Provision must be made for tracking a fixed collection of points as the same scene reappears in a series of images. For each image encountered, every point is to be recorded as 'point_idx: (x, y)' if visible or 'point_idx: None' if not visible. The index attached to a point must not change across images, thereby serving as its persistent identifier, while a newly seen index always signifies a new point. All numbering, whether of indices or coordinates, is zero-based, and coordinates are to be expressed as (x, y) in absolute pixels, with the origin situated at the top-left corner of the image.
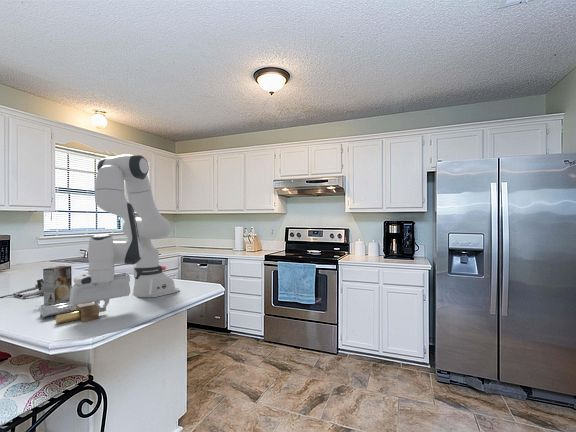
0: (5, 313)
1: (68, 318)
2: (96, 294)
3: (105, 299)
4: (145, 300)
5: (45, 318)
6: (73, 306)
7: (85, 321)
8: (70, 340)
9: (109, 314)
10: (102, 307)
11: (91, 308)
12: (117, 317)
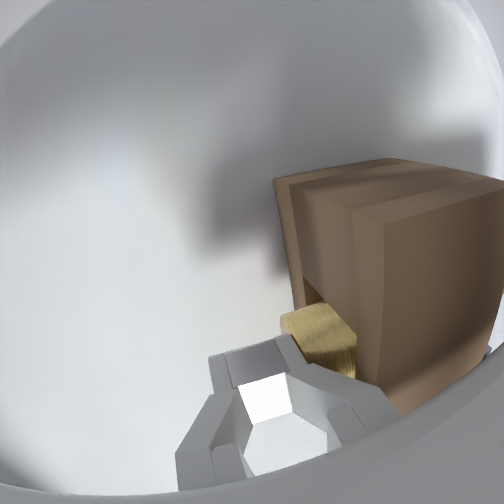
0: None
1: None
2: (492, 501)
3: (251, 480)
4: (36, 487)
5: (485, 351)
6: None
7: (399, 164)
8: None
9: (176, 392)
10: (261, 379)
11: (460, 201)
12: (95, 274)
